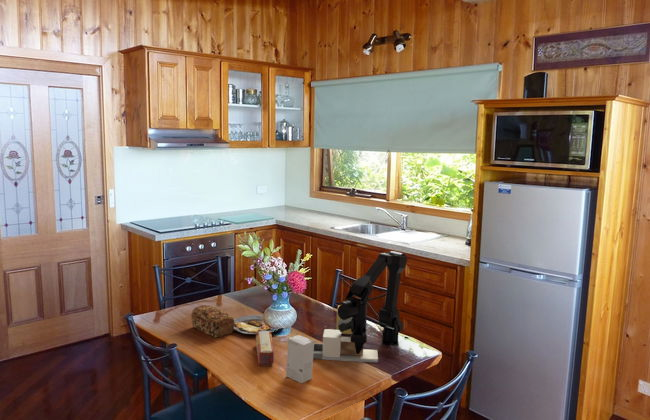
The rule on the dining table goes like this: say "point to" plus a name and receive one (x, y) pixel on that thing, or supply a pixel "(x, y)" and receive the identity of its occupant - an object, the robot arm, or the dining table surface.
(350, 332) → the cheese
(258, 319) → the food plate
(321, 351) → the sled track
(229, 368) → the dining table surface
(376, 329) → the dining table surface
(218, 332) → the bread
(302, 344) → the skincare box
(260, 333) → the snack package
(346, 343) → the walnut block
